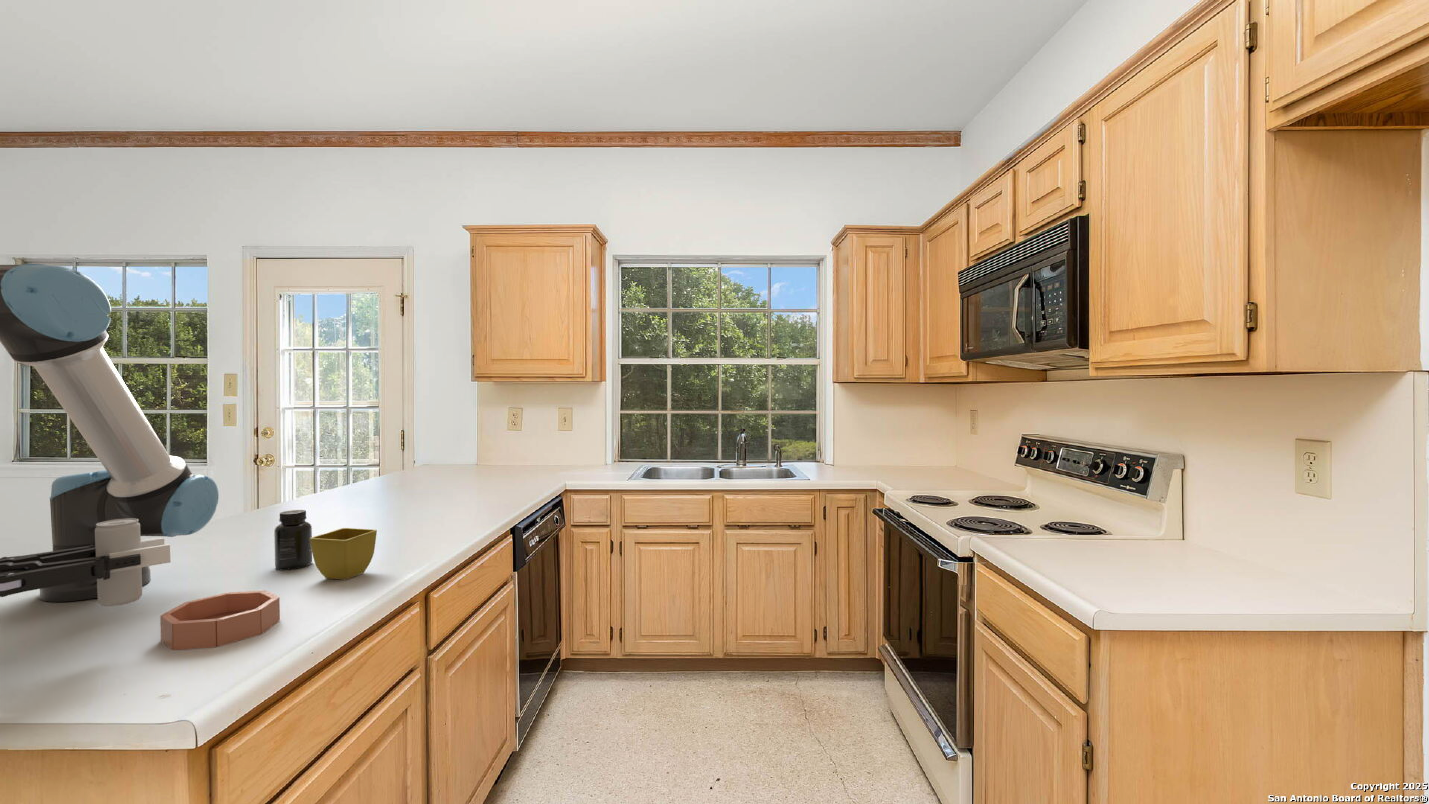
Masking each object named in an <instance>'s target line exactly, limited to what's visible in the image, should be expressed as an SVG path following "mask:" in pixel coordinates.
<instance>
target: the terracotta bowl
mask: <svg viewBox="0 0 1429 804" xmlns="http://www.w3.org/2000/svg"><path fill="white" fill-rule="evenodd" d="M280 600H281V599H280V596H278V595H277V594H274V593H272V592H269V591H267V590H252V591H251V590H250V591H249V590H247V591H235V592H234V591H233V592H232V591H230V592H224V593H220V594H216V595H212V596H211V595H210V596H207V597H203V598H198V599H194V600H190V601H186V602H183V603H181V604H179V605H177V606H175V607H172V609H170V610H168V611H165V612H164V613H163V614H161V615H160V616H159V618H160V620H159V621H160V623H159V624H160V625H159V626H160V641H162V644H164V645H166V646H167V647H168V648H169V649H171V650H172V651H178V650H193V649H207V648H217V647H221V646H224V645H229V644H232V643H235V642H239V641H243V640H245V639H250V638H253V637H256V635H257V636H261V635H262V634H264V633H265V632H266V631H268V630H269V629H270V628H272V627H273V626H275V625H276V624H277V623H279V622H280V621H281V619H280V618H281V611H280V610H281V608H280V607H281V606H280ZM279 620H280V621H279ZM278 621H279V622H278ZM275 623H276V624H275ZM274 624H275V625H274ZM271 626H272V627H271ZM267 629H268V630H267ZM263 632H264V633H263Z"/></svg>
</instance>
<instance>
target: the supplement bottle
mask: <svg viewBox="0 0 1429 804" xmlns="http://www.w3.org/2000/svg"><path fill="white" fill-rule="evenodd" d="M278 521H279V522H280V524H278V525H277V526H276V527H275V528H274V531H273V532H274V535H273V536H274V538H273V539H274V541H273V542H274V567H275V569H278V570H280V569H282V570H286V569H288V570H295V568H296V569H301V568H305V567H307V566H310V565H312V562H313V553H312V548H311V543H310V538H312V537H313V530H312V529H313V528H312V524H311V523H309V522H308V521H307V511H306V510H305V509H294V510H293V509H291V510H286V511H281V512H280V513H279V519H278Z"/></svg>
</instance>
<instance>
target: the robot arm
mask: <svg viewBox="0 0 1429 804" xmlns="http://www.w3.org/2000/svg"><path fill="white" fill-rule="evenodd" d="M109 300H110V299H109V298H108V297H107V294H106V293H105V291H104V290H103V289H102V287H101V286H99V284H98V283H97V282H96V281H94V280H93V279H92V278H90V277H89V276H87V275H85V274H84V273H82V272H80V271H77V270H74V269H72V268H69V267H65V266H60V265H48V264H44V263H24V264H0V343H1V345H2V347H4V349H5V351H6V352H7V353H8V354H9V356H10V357H11V359H12V360H13V361H14V362H16V363H17V364H23V365H27V366H31V367H33V368H34V369H35V370H36V371H37V373H38V374H39V377H41V379H42V380H43V382H44V383H45V384H46V385H47V386H46V387H48V389H49V390H50V392H51V393H52V394H53V396H54V397H55V399H56V400H57V402H58V404H60V406H61V407H62V409H63V410H64V411H65V413H66V414H67V416H68V417H69V418H70V420H71V422H72V424H74V426H75V427H76V429H77V430H78V431H79V433H80V434H81V436H82V437H83V439H84V440H85V442H86V444H87V445H88V446H89V448H90V449H91V450H92V451H93V453H94V454H95V456H96V458H97V459H98V460H99V461H100V463H101V465H102V466H103V467H104V469H105V470H99V471H98V470H96V471H91V472H84V473H83V472H82V473H78V474H68V475H63V476H59V477H57V478H56V479H54V480H53V481H52V484H51V494H50V496H49V505H50V523H51V542H52V551H45V552H38V553H33V554H32V553H31V554H26V555H25V554H24V555H16V556H15V555H14V556H2V557H1V558H0V598H4V597H7V596H12V595H16V594H20V593H24V592H29V591H36V590H39V599H40V600H41V601H44V602H55V603H56V602H58V603H61V602H75V601H84V600H85V601H86V600H90V599H98V595H97V579H101V578H103V580H106V579H110V573H112V572H118V571H124V570H129V569H135V568H141V567H142V587H143V586H145V585H146V584H148V583H150V582H151V569H150V567H151V566H157V565H158V566H159V565H163V564H168V563H171V544H170V543H165V538H164V537H167V538H172V537H179V536H188V535H189V536H190V535H193V534H196V533H198V532H199V531H201V530H202V529H203V528H205V527H206V526H207V525H208V523H209V522H210V521H211V520H212V519H213V517H214V514H215V513H216V511H217V506H218V504H219V495H220V494H219V489H218V485H217V483H216V482H215V480H214V479H212V477H209V476H207V475H204V474H193V472H192V470H190V468H189V466H188V465H187V463H186V461H185V460H184V459H183V458H182V457H180V456H176V455H170V454H169V453H168V452H167V451H168V450H167V449H166V448H165V446H164V445H163V443H162V441H161V440H160V438H159V436H158V435H157V433H156V431H155V430H154V428H153V427H152V425H151V423H150V422H149V420H148V419H147V417H146V415H145V414H144V412H143V410H142V409H141V407H140V406H139V404H138V403H137V401H136V399H135V398H134V396H133V394H132V392H131V391H130V390H129V387H127V385H126V384H125V382H124V380H123V378H122V377H121V375H120V374H119V372H118V370H117V368H116V367H115V366H114V364H113V362H112V360H111V359H110V357H109V356H108V354H107V352H106V351H105V348H104V345H105V343H107V341H108V338H109V334H108V332H107V329H108V327H109V326H110V324H111V321H112V318H111V317H110V316H109V314H111V313H112V307H111V306H112V305H111V304H110V301H109ZM126 518H136V519H139V521H138V523H140V537H158V538H151V539H144V540H141V548H140V549H133V550H127V551H121V552H114V553H109V556H101V557H96V548H95V528H96V524H97V523H100V522H104V521H109V520H116V519H126Z"/></svg>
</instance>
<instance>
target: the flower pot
mask: <svg viewBox="0 0 1429 804" xmlns="http://www.w3.org/2000/svg"><path fill="white" fill-rule="evenodd" d="M377 532H378V530H377V529H369V528H368V529H367V528H352V527H342V528H339V529H336V530H332V531H329V532H325V533H322V534H318V535H314V536H312V538H310V543H311V548H312V559H313V562H314V564H315V566H316V568H317V570H318V572H320V574H321V575H322V576H323V577H324V578H325V579H331V580H344V581H346V580H349V579H351V578H354V577H357V576H358V575H361V574H363V573H365V572H366V570H367V569H368V567H369V565H370V563H371V562H372V560H373V557H374V554H375V548H376V541H377Z"/></svg>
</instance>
